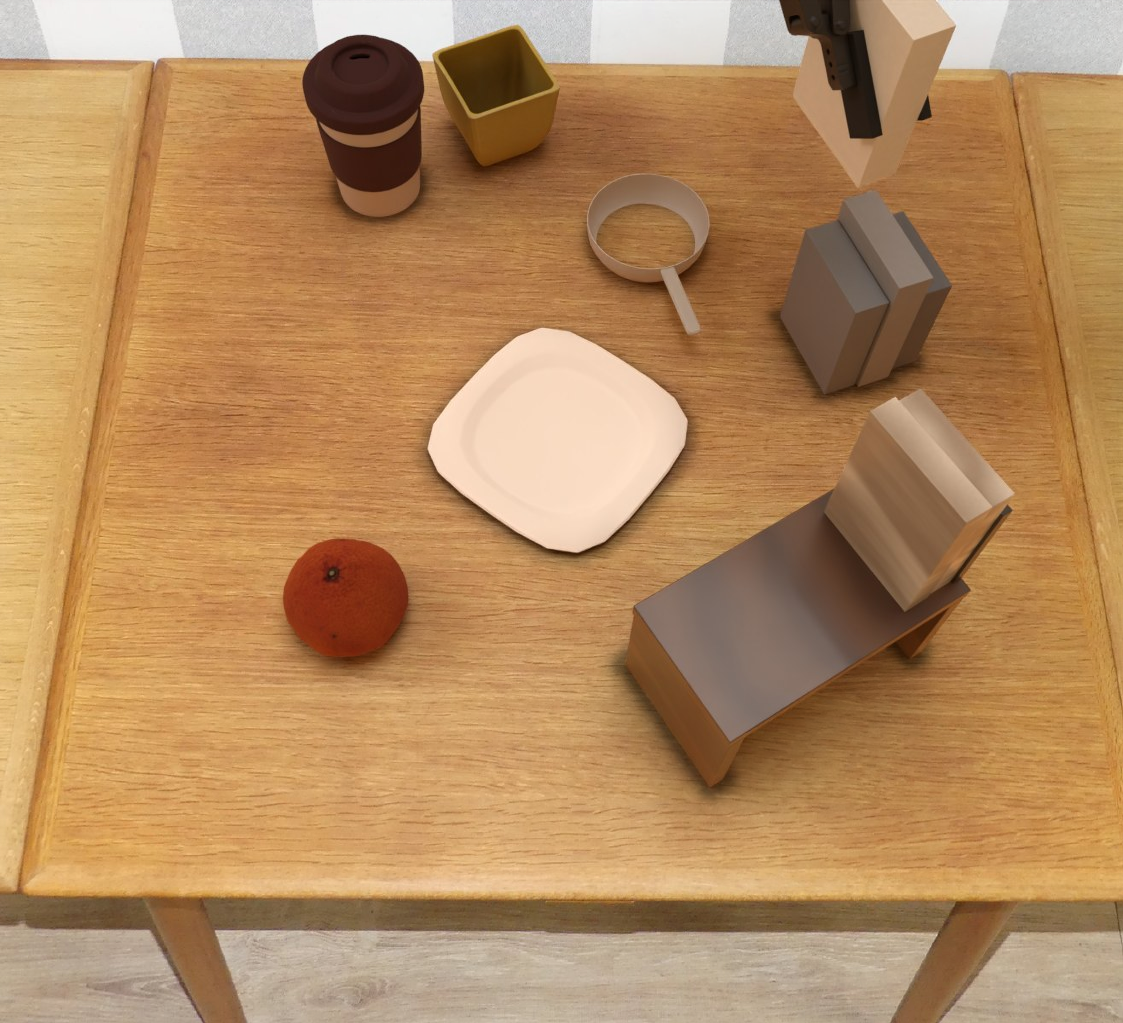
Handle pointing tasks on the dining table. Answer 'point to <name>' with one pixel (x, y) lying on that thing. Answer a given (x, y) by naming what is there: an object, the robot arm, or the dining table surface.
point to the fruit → (345, 597)
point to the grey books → (862, 294)
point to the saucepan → (661, 194)
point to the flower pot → (498, 93)
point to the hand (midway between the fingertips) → (890, 127)
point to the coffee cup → (369, 120)
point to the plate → (558, 439)
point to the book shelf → (820, 585)
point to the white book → (879, 82)
